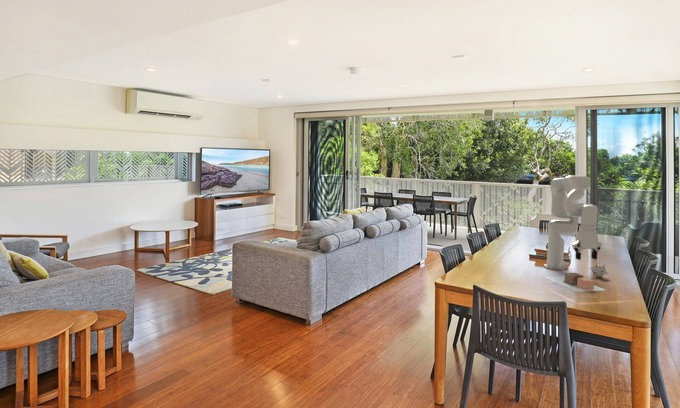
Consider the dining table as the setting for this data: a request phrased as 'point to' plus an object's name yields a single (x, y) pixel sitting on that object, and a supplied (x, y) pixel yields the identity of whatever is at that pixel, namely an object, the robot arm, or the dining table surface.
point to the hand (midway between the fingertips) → (586, 259)
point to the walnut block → (572, 278)
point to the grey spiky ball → (599, 270)
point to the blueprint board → (574, 287)
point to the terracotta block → (585, 283)
